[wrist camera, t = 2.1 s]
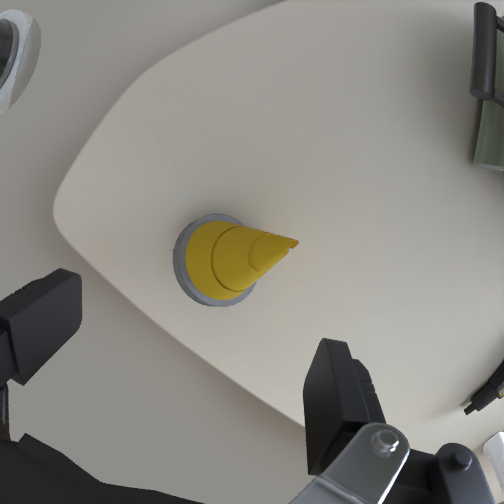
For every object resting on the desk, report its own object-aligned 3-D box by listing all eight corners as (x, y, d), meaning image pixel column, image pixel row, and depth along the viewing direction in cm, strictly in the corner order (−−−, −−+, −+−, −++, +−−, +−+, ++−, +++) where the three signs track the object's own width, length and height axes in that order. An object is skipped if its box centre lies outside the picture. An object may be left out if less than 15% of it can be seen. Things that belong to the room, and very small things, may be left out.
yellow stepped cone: (171, 214, 21) (262, 158, 13) (235, 245, 24) (343, 215, 16) (145, 290, 19) (228, 280, 11) (216, 316, 22) (327, 320, 14)
